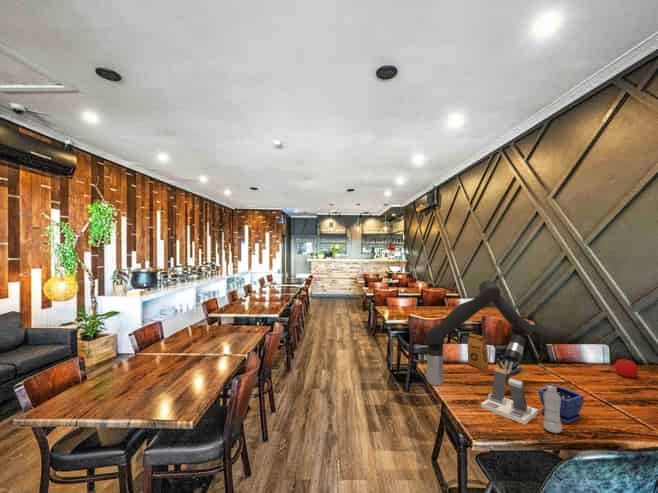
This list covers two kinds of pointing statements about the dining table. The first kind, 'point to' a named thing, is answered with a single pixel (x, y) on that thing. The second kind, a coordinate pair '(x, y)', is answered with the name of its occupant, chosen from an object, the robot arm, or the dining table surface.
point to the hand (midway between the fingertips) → (504, 380)
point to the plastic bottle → (552, 409)
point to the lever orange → (499, 384)
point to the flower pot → (566, 404)
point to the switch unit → (509, 410)
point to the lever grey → (518, 394)
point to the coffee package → (477, 351)
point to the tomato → (626, 368)
